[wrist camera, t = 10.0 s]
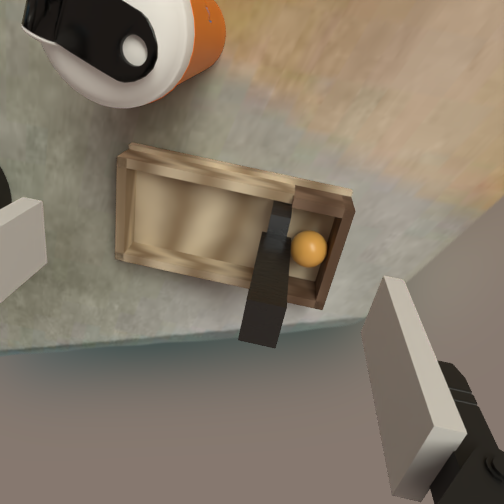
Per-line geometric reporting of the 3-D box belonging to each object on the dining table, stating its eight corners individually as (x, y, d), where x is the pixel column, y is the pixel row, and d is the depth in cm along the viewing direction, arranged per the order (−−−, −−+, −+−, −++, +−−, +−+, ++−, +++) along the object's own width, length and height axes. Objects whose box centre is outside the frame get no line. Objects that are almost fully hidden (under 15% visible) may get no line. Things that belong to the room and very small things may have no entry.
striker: (255, 262, 47) (234, 358, 32) (269, 199, 43) (251, 276, 29) (280, 268, 46) (270, 366, 32) (296, 205, 43) (292, 285, 29)
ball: (285, 252, 46) (286, 270, 42) (293, 221, 44) (295, 237, 40) (320, 259, 46) (323, 277, 42) (329, 227, 44) (334, 244, 40)
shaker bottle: (219, 97, 40) (151, 141, 22) (134, 62, 39) (-5, 80, 22) (249, -3, 36) (195, -46, 18) (154, -43, 35) (3, -128, 17)
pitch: (128, 247, 49) (111, 267, 45) (132, 142, 43) (112, 153, 39) (319, 289, 49) (321, 313, 44) (351, 189, 43) (357, 206, 38)
